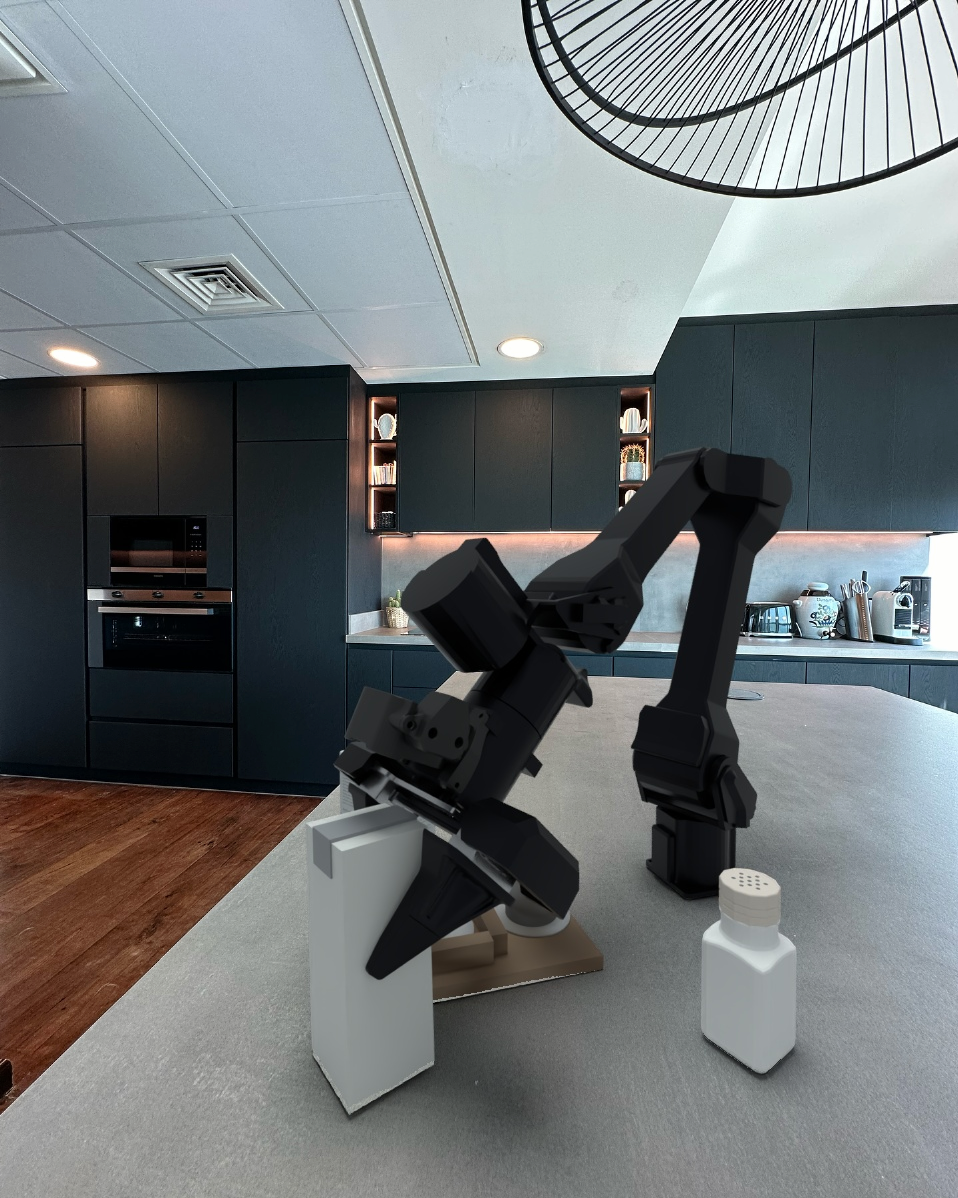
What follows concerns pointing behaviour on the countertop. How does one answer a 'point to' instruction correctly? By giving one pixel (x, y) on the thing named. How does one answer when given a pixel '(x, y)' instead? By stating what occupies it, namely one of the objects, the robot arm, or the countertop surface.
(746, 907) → the salt shaker
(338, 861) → the tall white box
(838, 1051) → the countertop surface
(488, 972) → the wooden holder board
